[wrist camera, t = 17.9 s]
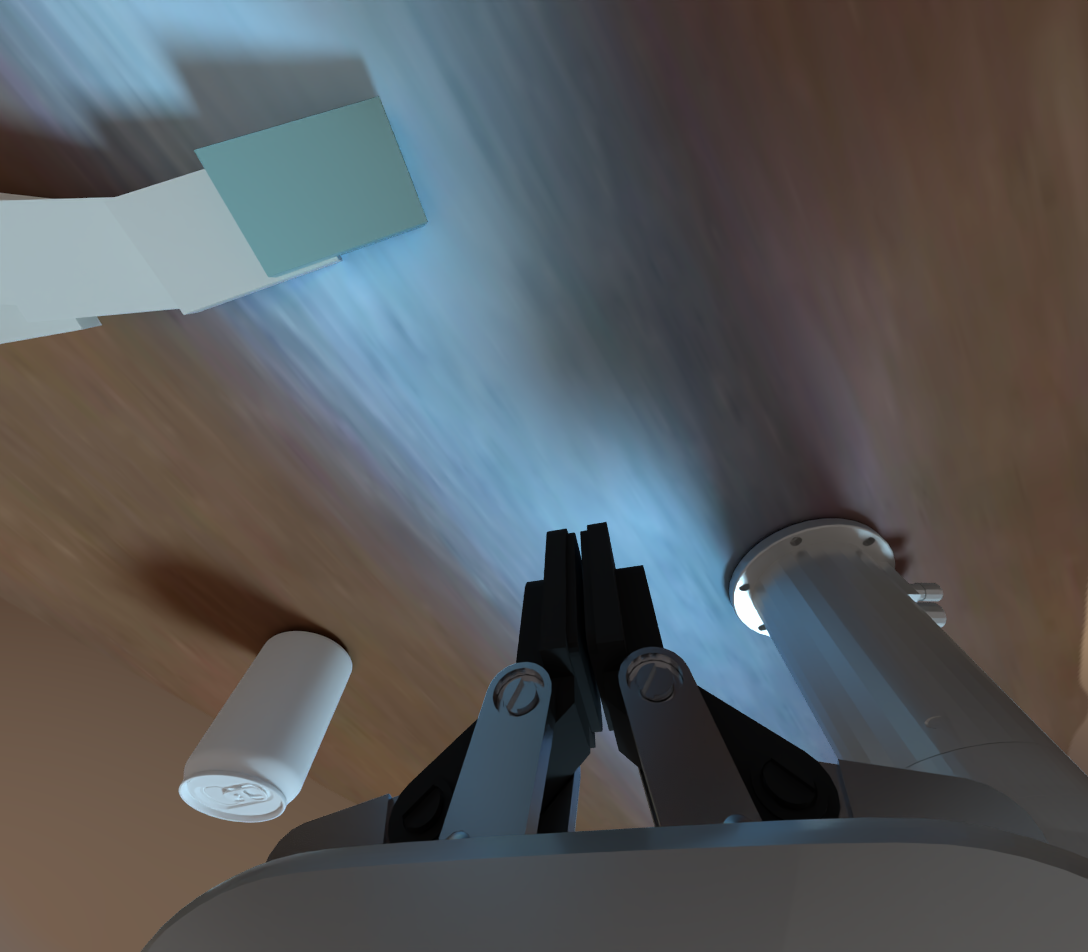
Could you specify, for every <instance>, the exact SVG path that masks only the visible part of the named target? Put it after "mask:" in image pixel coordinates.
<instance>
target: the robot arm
mask: <svg viewBox="0 0 1088 952" xmlns="http://www.w3.org/2000/svg"><path fill="white" fill-rule="evenodd" d="M580 535H581V554H582V560H581V555H580V551H579V547H578V543H577V539H576V535H575V533H568V531H567V529H561V530H555V531H549V532H547V537H546V552H545V568H544V580H539V581H532V582H527V583H526V586H525V592H524V600H523V609H522V617H521V626H520V634H519V643H518V651H517V660H516V663H515V664H513V665H510V666H508V667H506V668H505V669H503V670H502V671H501V672H499V673H498V674H497V675H496V677H495V678H494V679H493V680H492V682H491V684H490V686H489V688H488V690H487V693H486V696H485V699H484V702H483V705H482V708H481V711H480V714H479V717H478V719H477V720H476V721H475V722H474V723H473V724H472V725H471V726H470V727H469V728H467V729H466V730H465V731H464V732H463V733H462V734H461V735H460V736H459V737H458V738H457V739H456V740H455V741H454V742H453V743H452V744H451V745H450V746H448V747H447V748H446V749H445V750H444V751H443V752H442V753H441V754H440V755H439V756H438V757H437V758H436V759H435V760H434V761H433V762H432V763H431V764H429V765H428V766H427V767H426V768H425V769H424V770H423V771H422V772H421V773H420V774H419V775H418V776H417V777H416V778H415V779H414V780H413V781H412V782H410V783H409V785H408V786H407V787H406V788H405V789H404V790H403V792H402V793H401V794H400V795H399V796H396V797H393V798H392V797H391V796H390V794H387V795H384V796H381V797H378V798H375V799H372V800H369V801H366V802H364V803H361V804H358V805H355V806H352V807H349V808H346V809H343V810H341V811H338V812H335V813H332V814H329V815H326V816H323V817H320V818H318V819H315V820H312V821H309V822H306V823H304V824H302V825H300V826H298V827H296V828H294V829H292V830H291V831H290V832H289V833H288V834H287V835H285V836H284V837H283V838H282V839H281V840H280V841H279V842H278V844H277V845H276V847H275V848H274V849H273V851H272V852H271V853H270V855H269V857H268V859H267V861H266V863H263V864H260V865H258V866H255V867H253V868H251V869H249V870H246V871H244V872H242V873H240V874H238V875H235V876H233V877H231V878H230V879H228V880H226V881H224V882H223V883H221V884H219V885H217V886H215V887H213V888H212V889H210V890H208V891H207V892H205V893H204V894H202V895H201V896H199V897H198V898H196V899H195V900H193V901H192V902H191V903H189V904H188V905H187V906H185V907H184V908H182V909H181V910H180V911H179V912H178V913H176V914H175V915H174V916H173V917H172V918H171V919H170V920H169V921H167V922H166V923H165V924H164V925H163V926H162V927H161V929H159V931H158V932H157V933H156V934H155V935H154V936H153V938H152V939H151V940H150V941H149V942H148V943H147V944H146V945H145V947H144V948H143V949H142V951H141V952H1088V776H1087V775H1086V774H1085V773H1084V772H1083V771H1082V770H1081V769H1080V768H1079V767H1078V766H1077V765H1076V764H1075V763H1074V762H1073V761H1072V760H1071V759H1070V758H1069V757H1068V756H1067V755H1066V754H1065V753H1064V752H1063V751H1062V750H1061V749H1060V748H1059V747H1058V746H1057V745H1056V744H1055V743H1054V742H1053V741H1052V740H1051V739H1050V738H1049V737H1048V736H1047V735H1046V734H1045V733H1044V732H1043V731H1042V730H1041V729H1040V728H1039V727H1038V726H1037V725H1036V724H1035V723H1034V722H1033V721H1032V720H1031V719H1030V718H1029V717H1028V716H1027V715H1026V714H1025V713H1024V712H1023V711H1022V710H1021V709H1020V708H1019V707H1018V705H1017V704H1016V703H1015V702H1014V701H1013V700H1012V699H1011V698H1010V697H1009V696H1008V695H1007V694H1006V693H1005V692H1004V691H1003V690H1002V689H1001V688H1000V687H999V686H998V685H997V684H996V683H995V682H994V681H993V680H992V679H991V678H990V677H989V676H988V675H987V674H986V673H985V672H984V671H983V670H982V669H981V668H980V667H979V666H978V665H977V664H976V663H975V662H974V661H973V660H972V659H971V658H970V657H969V656H968V655H967V654H966V653H965V652H964V651H963V650H962V649H961V648H960V647H959V646H958V645H957V644H956V643H955V642H954V641H953V640H952V639H951V638H950V637H949V636H948V635H947V634H946V633H945V632H944V631H943V630H942V629H941V628H940V627H943V626H944V624H945V623H946V615H945V611H944V610H943V609H942V607H941V606H940V605H938V604H936V603H932V602H917V601H939V600H941V599H942V597H943V592H942V589H941V588H940V586H939V585H937V584H936V583H914V584H909V583H908V582H907V581H906V580H905V579H904V578H903V577H902V576H901V575H900V574H899V573H898V572H897V571H896V570H895V559H894V554H893V551H892V549H891V548H890V546H889V544H888V543H887V542H886V541H885V540H884V539H883V538H882V537H881V536H880V535H879V534H878V533H877V532H876V531H874V530H873V529H871V528H870V527H868V526H867V525H864V524H862V523H859V522H856V521H853V520H847V519H841V518H824V519H817V520H810V521H806V522H802V523H799V524H795V525H792V526H789V527H787V528H785V529H782V530H780V531H778V532H776V533H774V534H772V535H771V536H769V537H767V538H766V539H764V540H762V541H761V542H760V543H759V544H757V545H756V546H755V547H754V548H752V549H751V550H750V551H749V552H748V553H747V554H746V555H745V556H744V558H743V559H742V560H741V561H740V563H739V564H738V566H737V567H736V569H735V571H734V573H733V575H732V578H731V581H730V586H729V596H730V602H731V604H732V606H733V608H734V611H735V613H736V615H737V616H738V617H739V619H740V620H741V622H743V623H744V624H745V625H746V626H747V627H748V628H750V629H752V630H754V631H755V632H757V633H760V634H764V635H767V636H770V637H771V639H772V640H773V642H774V644H775V646H776V648H777V649H778V651H779V653H780V655H781V657H782V659H783V660H784V662H785V664H786V666H787V668H788V669H789V671H790V673H791V675H792V677H793V678H794V680H795V682H796V684H797V686H798V687H799V689H800V691H801V693H802V695H803V697H804V698H805V700H806V702H807V704H808V706H809V707H810V709H811V711H812V713H813V715H814V716H815V718H816V720H817V722H818V724H819V725H820V727H821V729H822V731H823V733H824V735H825V736H826V738H827V740H828V742H829V744H830V745H831V747H832V749H833V751H834V753H835V754H836V756H837V758H838V762H837V764H831V763H824V762H818V761H816V760H815V759H814V758H813V757H811V756H810V755H809V754H807V753H806V752H805V751H803V750H801V749H800V748H798V747H796V746H795V745H793V744H792V743H790V742H788V741H787V740H785V739H783V738H782V737H780V736H779V735H777V734H775V733H774V732H772V731H770V730H769V729H767V728H766V727H764V726H762V725H761V724H759V723H757V722H756V721H754V720H753V719H751V718H749V717H748V716H746V715H745V714H743V713H741V712H740V711H738V710H736V709H735V708H733V707H732V706H730V705H728V704H727V703H725V702H723V701H722V700H720V699H719V698H717V697H715V696H714V695H712V694H710V693H709V692H707V691H706V690H704V689H702V688H701V687H699V686H697V684H696V682H695V680H694V678H693V676H692V674H691V672H690V670H689V668H688V666H687V665H686V663H685V662H684V660H683V659H682V658H681V657H679V656H678V655H677V654H676V653H674V652H672V651H670V650H667V649H665V648H663V644H662V640H661V636H660V632H659V628H658V624H657V620H656V616H655V612H654V607H653V603H652V599H651V595H650V591H649V587H648V583H647V579H646V575H645V571H644V567H643V565H641V566H634V567H627V568H620V569H616V568H615V563H614V558H613V553H612V548H611V542H610V537H609V532H608V527H607V523H606V522H603V523H597V524H591V525H587V531H581V532H580ZM600 698H601V701H600ZM601 702H602V705H603V709H604V713H605V717H606V720H607V724H608V728H609V731H612V730H614V733H615V737H616V741H617V745H618V749H619V751H620V752H621V753H622V754H624V755H625V756H626V757H627V758H628V759H629V760H630V761H632V762H633V763H634V764H635V765H636V766H637V767H638V769H639V773H640V777H641V780H642V784H643V787H644V791H645V794H646V798H647V801H648V805H649V809H650V812H651V816H652V819H653V823H654V826H655V827H649V828H632V829H614V830H597V831H580V832H575V824H576V815H577V805H578V796H579V786H580V765H581V764H582V762H583V761H584V760H585V759H586V758H587V756H588V755H589V754H590V748H595V732H601V731H602V714H601Z"/></svg>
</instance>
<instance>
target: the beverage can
mask: <svg viewBox="0 0 1088 952" xmlns="http://www.w3.org/2000/svg"><path fill="white" fill-rule="evenodd" d="M351 671H352V661H351V658H350V656H349V655H348V653H347V652H346V651H345V650H344V649H343V648H342V647H341V646H340V645H339V644H337V643H336V642H334V641H333V640H331V639H329V638H327V637H325V636H322V635H319V634H316V633H311V632H305V631H289V632H283V633H280V634H277V635H275V636H273V637H272V638H270V639H269V640H268V641H267V642H266V643H265V645H264V646H263V648H262V649H261V651H260V652H259V654H258V655H257V657H256V658H255V660H254V661H253V663H252V664H251V666H250V667H249V669H248V670H247V672H246V673H245V675H244V676H243V678H242V679H241V681H240V682H239V684H238V685H237V687H236V688H235V690H234V691H233V693H232V694H231V696H230V697H229V699H228V700H227V702H226V703H225V705H224V706H223V708H222V709H221V711H220V712H219V714H218V715H217V717H216V718H215V720H214V721H213V723H212V724H211V726H210V727H209V729H208V730H207V732H206V734H205V735H204V736H203V738H202V739H201V741H200V742H199V744H198V745H197V747H196V749H195V750H194V751H193V753H192V754H191V756H190V757H189V759H188V761H187V763H186V765H185V768H184V780H183V781H182V783H181V784H180V786H179V794H180V796H181V798H182V799H183V800H184V801H185V802H186V803H187V804H188V805H190V806H191V807H192V808H194V809H196V810H198V811H200V812H202V813H205V814H207V815H210V816H213V817H216V818H220V819H224V820H229V821H237V822H262V821H267V820H271V819H274V818H276V817H278V816H280V815H281V814H282V813H283V812H284V810H285V808H286V805H287V804H288V803H289V802H291V801H292V800H293V799H294V798H295V797H296V796H297V795H298V793H299V792H300V790H301V788H302V785H303V783H304V781H305V778H306V776H307V774H308V772H309V769H310V767H311V765H312V762H313V760H314V758H315V755H316V753H317V751H318V748H319V746H320V744H321V741H322V739H323V737H324V734H325V732H326V730H327V727H328V725H329V723H330V720H331V718H332V716H333V713H334V711H335V709H336V707H337V704H338V702H339V700H340V697H341V695H342V693H343V690H344V688H345V686H346V683H347V681H348V679H349V676H350V674H351Z"/></svg>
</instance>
